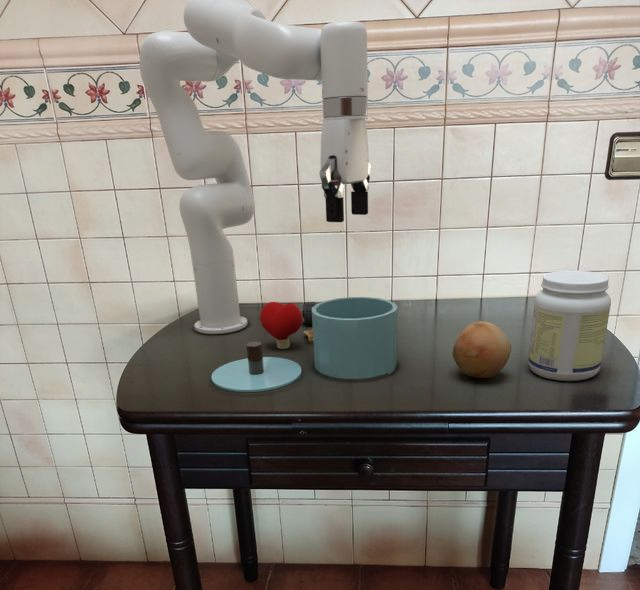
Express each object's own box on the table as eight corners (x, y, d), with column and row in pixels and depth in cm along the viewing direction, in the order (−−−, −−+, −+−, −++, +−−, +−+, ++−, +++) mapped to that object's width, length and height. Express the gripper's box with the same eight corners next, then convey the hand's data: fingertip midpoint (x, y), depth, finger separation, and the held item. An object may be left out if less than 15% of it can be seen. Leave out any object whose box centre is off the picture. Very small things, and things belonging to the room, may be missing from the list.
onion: (515, 385, 102) (521, 329, 98) (456, 387, 103) (460, 331, 98) (501, 365, 111) (505, 313, 107) (447, 367, 112) (450, 315, 107)
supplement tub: (594, 360, 111) (609, 269, 104) (604, 385, 101) (622, 285, 93) (525, 357, 114) (535, 268, 107) (528, 381, 104) (539, 284, 96)
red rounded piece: (310, 347, 126) (308, 300, 122) (295, 357, 120) (292, 309, 116) (272, 343, 130) (268, 297, 125) (256, 353, 124) (251, 306, 120)
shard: (354, 345, 126) (354, 337, 125) (323, 352, 123) (322, 344, 122) (329, 332, 134) (329, 325, 134) (299, 339, 131) (299, 331, 130)
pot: (307, 357, 120) (304, 301, 115) (383, 349, 123) (383, 293, 118) (323, 385, 106) (320, 323, 101) (407, 375, 109) (409, 314, 104)
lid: (210, 367, 118) (206, 335, 115) (294, 358, 120) (292, 326, 117) (213, 400, 103) (208, 364, 100) (309, 389, 106) (307, 353, 103)
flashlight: (303, 328, 139) (302, 305, 136) (302, 321, 144) (301, 299, 141) (368, 323, 139) (368, 300, 137) (365, 317, 144) (365, 295, 142)
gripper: (348, 112, 108) (350, 211, 116) (299, 112, 95) (305, 224, 102) (386, 109, 105) (386, 212, 112) (341, 109, 91) (344, 225, 99)
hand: (347, 218), depth 107 cm, fingers open, 9 cm apart
